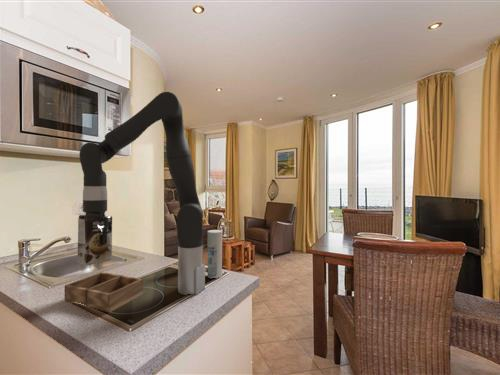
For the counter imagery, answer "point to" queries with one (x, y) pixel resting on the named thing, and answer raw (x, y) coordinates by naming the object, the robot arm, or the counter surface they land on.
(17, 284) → the counter surface
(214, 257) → the spray can
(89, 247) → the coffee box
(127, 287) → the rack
